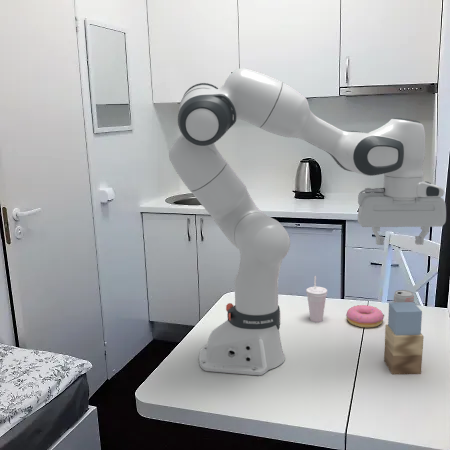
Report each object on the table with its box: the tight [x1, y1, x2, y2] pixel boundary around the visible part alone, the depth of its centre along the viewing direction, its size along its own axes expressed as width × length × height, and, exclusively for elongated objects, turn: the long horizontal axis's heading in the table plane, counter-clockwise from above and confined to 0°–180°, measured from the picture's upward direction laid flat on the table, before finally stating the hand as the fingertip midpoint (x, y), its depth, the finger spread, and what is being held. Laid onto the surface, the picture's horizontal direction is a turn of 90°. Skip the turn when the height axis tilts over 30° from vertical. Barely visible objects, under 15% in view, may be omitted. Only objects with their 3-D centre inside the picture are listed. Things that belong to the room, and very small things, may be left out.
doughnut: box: [345, 304, 385, 329], centre depth 156 cm, size 11×11×4 cm
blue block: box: [387, 301, 423, 336], centre depth 126 cm, size 6×6×6 cm
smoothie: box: [305, 275, 328, 323], centre depth 157 cm, size 6×6×14 cm
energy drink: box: [393, 289, 415, 303], centre depth 147 cm, size 5×5×12 cm
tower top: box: [384, 324, 425, 356], centre depth 127 cm, size 7×7×5 cm
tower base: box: [383, 343, 423, 375], centre depth 128 cm, size 7×7×5 cm
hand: (399, 244), depth 126 cm, fingers open, 8 cm apart
